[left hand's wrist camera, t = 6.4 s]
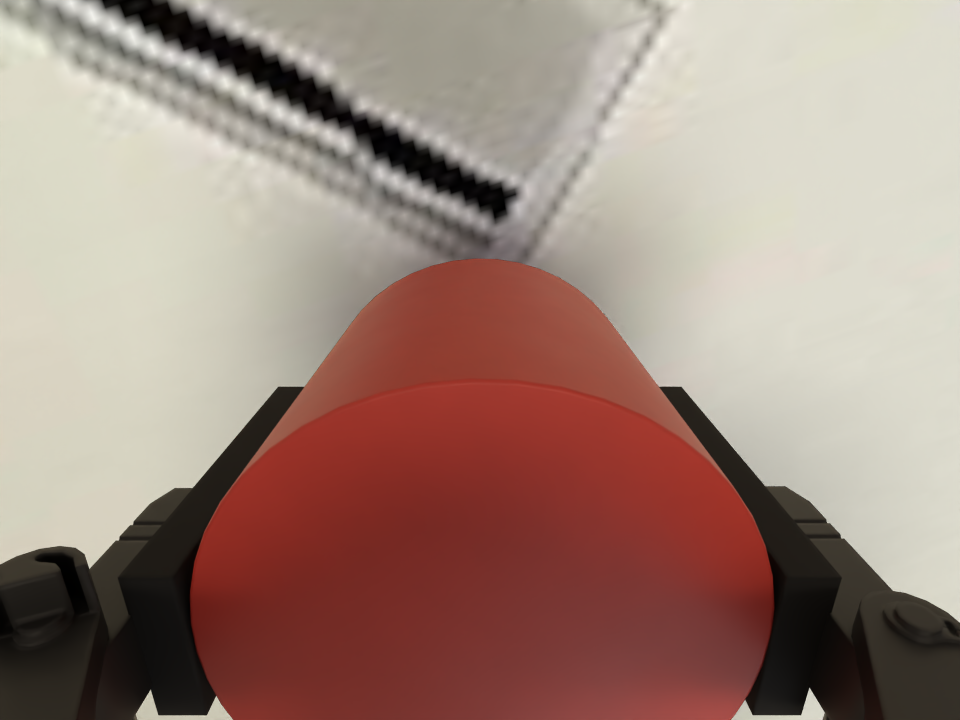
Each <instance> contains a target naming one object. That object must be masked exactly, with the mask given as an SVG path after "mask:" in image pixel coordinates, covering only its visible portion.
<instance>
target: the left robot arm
mask: <svg viewBox="0 0 960 720" xmlns="http://www.w3.org/2000/svg"><path fill="white" fill-rule="evenodd" d="M303 388H304V387H278V388H277V389H276V390H275V391H274V393H273V394H272V395H271V396H270V397H269V398H268V400H267V401H266V402H265V403H264V404H263V406H262V407H261V408H260V409H259V410H258V412H257V413H256V414H255V415H254V416H253V417H252V419H251V420H250V421H249V422H248V423H247V425H246V426H245V427H244V428H243V429H242V430H241V432H240V433H239V434H238V435H237V436H236V438H235V439H234V440H233V441H232V442H231V444H230V445H229V446H228V447H227V448H226V449H225V451H224V452H223V453H222V454H221V455H220V457H219V458H218V459H217V460H216V461H215V463H214V464H213V465H212V466H211V467H210V468H209V470H208V471H207V472H206V473H205V474H204V476H203V477H202V478H201V479H200V480H199V481H198V483H197V484H196V485H195V486H194V487H193V488H174V489H173V490H171V491H170V492H168V493H166V494H165V495H163V496H162V497H160V498H158V499H157V500H155V501H154V502H152V503H151V504H149V506H148V507H147V508H146V509H145V510H144V511H143V512H142V513H141V514H140V515H139V516H138V517H137V519H136V520H135V521H134V524H133V525H130V526H129V527H128V528H127V529H126V530H125V531H124V533H123V534H122V535H121V536H120V539H119V541H115V542H114V543H113V544H112V545H111V547H110V548H109V549H108V550H107V551H106V552H105V553H104V554H103V555H102V556H101V557H100V558H99V560H98V561H97V562H96V563H95V564H94V565H93V566H92V567H91V568H90V569H89V567H88V564H87V561H86V557H85V554H83V553H82V552H81V551H79V550H78V549H76V548H72V547H63V546H57V547H50V548H43V549H38V550H35V551H32V552H29V553H26V554H23V555H19V556H17V557H15V558H13V559H11V560H9V561H7V562H5V563H3V564H1V565H0V720H137V717H136V713H137V711H138V709H139V708H140V706H141V704H142V703H143V701H144V699H145V698H146V696H147V694H148V693H149V691H150V689H151V692H152V695H153V698H154V702H155V705H156V708H157V712H158V715H207V714H208V712H209V710H210V708H211V705H212V703H213V701H214V699H215V697H216V694H215V692H214V691H213V689H212V687H211V685H210V683H209V682H208V680H207V678H206V675H205V673H204V670H203V667H202V665H201V662H200V659H199V657H198V654H197V651H196V646H195V641H194V637H193V632H192V627H191V613H190V589H191V582H192V575H193V568H194V561H195V558H196V555H197V552H198V549H199V546H200V543H201V540H202V537H203V534H204V531H205V529H206V527H207V526H208V524H209V522H210V520H211V518H212V516H213V514H214V512H215V511H216V509H217V507H218V505H219V503H220V501H221V500H222V499H223V497H224V496H225V495H226V493H227V492H228V491H229V489H230V488H231V486H232V485H233V484H234V482H235V481H236V480H237V478H238V477H239V476H240V474H241V473H242V472H243V470H244V469H245V467H246V466H247V465H248V463H249V462H250V461H251V459H252V458H253V457H254V455H255V454H256V452H257V451H258V450H259V448H260V447H261V446H262V444H263V443H264V442H265V440H266V439H267V437H268V436H269V435H270V433H271V432H272V431H273V429H274V428H275V427H276V425H277V424H278V422H279V421H280V420H281V418H282V417H283V416H284V414H285V413H286V412H287V410H288V409H289V408H290V406H291V405H292V403H293V402H294V401H295V399H296V398H297V397H298V395H299V394H300V393H301V391H302V390H303ZM659 388H660V389H661V390H662V392H663V393H664V394H665V396H666V397H667V398H668V400H669V401H670V402H671V404H672V405H673V406H674V408H675V409H676V410H677V412H678V413H679V414H680V416H681V417H682V418H683V420H684V421H685V422H686V424H687V425H688V426H689V428H690V429H691V430H692V432H693V433H694V434H695V436H696V437H697V438H698V440H699V441H700V442H701V444H702V445H703V446H704V448H705V449H706V450H707V452H708V453H709V454H710V456H711V457H712V458H713V460H714V461H715V462H716V464H717V465H718V466H719V468H720V469H721V470H722V472H723V473H724V474H725V476H726V477H727V478H728V480H729V481H730V482H731V484H732V485H733V486H734V488H735V489H736V491H737V493H738V494H739V496H740V497H741V499H742V500H743V502H744V503H745V505H746V506H747V508H748V509H749V511H750V513H751V514H752V516H753V518H754V520H755V522H756V525H757V527H758V529H759V532H760V534H761V536H762V539H763V541H764V543H765V546H766V550H767V554H768V558H769V563H770V567H771V571H772V575H773V590H774V617H773V625H772V630H771V635H770V639H769V643H768V647H767V651H766V655H765V658H764V662H763V666H762V668H761V670H760V672H759V674H758V677H757V679H756V681H755V683H754V685H753V687H752V689H751V691H750V693H749V694H748V696H747V697H746V699H745V700H746V702H747V704H748V706H749V708H750V710H751V712H752V715H801V714H802V710H803V707H804V704H805V700H806V697H807V694H808V690H809V687H810V689H811V691H812V692H813V694H814V695H815V697H816V699H817V700H818V702H819V704H820V705H821V707H822V709H823V710H824V712H825V714H824V717H823V720H960V623H959V622H958V621H957V620H956V619H954V618H953V617H952V616H951V615H950V614H948V613H947V612H945V611H944V610H942V609H940V608H938V607H937V606H935V605H933V604H931V603H930V602H928V601H926V600H923V599H920V598H917V597H915V596H912V595H909V594H906V593H902V592H896V591H892V589H891V588H890V587H889V586H888V585H887V584H886V583H885V582H884V581H883V580H882V579H881V578H880V577H879V576H878V574H877V573H876V572H875V571H874V570H873V569H872V568H871V567H870V566H869V565H868V564H867V563H866V562H865V561H864V559H863V558H862V557H861V556H860V555H859V554H858V553H857V552H856V551H855V550H854V549H853V548H852V547H851V545H850V544H849V543H848V542H847V541H846V540H845V539H841V537H840V534H839V533H838V532H837V530H836V529H835V528H834V527H833V526H832V525H831V524H830V523H827V521H826V519H825V518H824V517H823V515H822V514H821V513H820V512H819V511H818V510H817V509H816V508H815V507H814V506H813V505H812V504H811V503H810V502H809V501H808V500H806V499H804V498H803V497H801V496H800V495H798V494H796V493H795V492H793V491H792V490H790V489H788V488H787V487H785V486H764V484H763V483H762V482H761V481H760V480H759V478H758V477H757V476H756V475H755V474H754V472H753V471H752V470H751V469H750V468H749V467H748V465H747V464H746V463H745V462H744V461H743V459H742V458H741V457H740V456H739V455H738V453H737V452H736V451H735V450H734V449H733V448H732V446H731V445H730V444H729V443H728V442H727V440H726V439H725V438H724V437H723V436H722V435H721V433H720V432H719V431H718V430H717V429H716V427H715V426H714V425H713V424H712V423H711V421H710V420H709V419H708V418H707V417H706V416H705V414H704V413H703V412H702V411H701V410H700V408H699V407H698V406H697V405H696V404H695V402H694V401H693V400H692V399H691V398H690V397H689V395H688V394H687V393H686V392H685V391H684V389H683V388H682V387H659Z"/></svg>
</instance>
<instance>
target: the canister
mask: <svg viewBox="0 0 960 720" xmlns="http://www.w3.org/2000/svg"><path fill="white" fill-rule="evenodd" d="M190 613H191V627H192V632H193V637H194V641H195V646H196V651H197V654H198V657H199V659H200V662H201V665H202V667H203V670H204V673H205V675H206V678H207V680H208V682H209V683H210V685H211V687H212V689H213V691H214V692H215V694H216V696H217V698H218V699H219V701H220V703H221V705H222V706H223V707H224V708H225V710H226V711H227V712H228V714H229V715H230V716H231V717H232V719H233V720H731V719H732V718H733V717H734V715H735V714H736V712H737V711H738V709H739V708H740V706H741V705H742V703H743V702H744V700H745V699H746V697H747V696H748V694H749V693H750V691H751V689H752V687H753V685H754V683H755V681H756V679H757V677H758V674H759V672H760V670H761V668H762V666H763V662H764V658H765V655H766V651H767V647H768V643H769V639H770V635H771V630H772V625H773V617H774V590H773V575H772V571H771V567H770V563H769V558H768V554H767V550H766V546H765V543H764V541H763V539H762V536H761V534H760V532H759V529H758V527H757V525H756V522H755V520H754V518H753V516H752V514H751V513H750V511H749V509H748V508H747V506H746V505H745V503H744V502H743V500H742V499H741V497H740V496H739V494H738V493H737V491H736V489H735V488H734V486H733V485H732V484H731V482H730V481H729V480H728V478H727V477H726V476H725V474H724V473H723V472H722V470H721V469H720V468H719V466H718V465H717V464H716V462H715V461H714V460H713V458H712V457H711V456H710V454H709V453H708V452H707V450H706V449H705V448H704V446H703V445H702V444H701V442H700V441H699V440H698V438H697V437H696V436H695V434H694V433H693V432H692V430H691V429H690V428H689V426H688V425H687V424H686V422H685V421H684V420H683V418H682V417H681V416H680V414H679V413H678V412H677V410H676V409H675V408H674V406H673V405H672V404H671V402H670V401H669V400H668V398H667V397H666V396H665V394H664V393H663V392H662V390H661V389H660V388H659V386H658V385H657V384H656V382H655V381H654V380H653V378H652V377H651V376H650V374H649V373H648V372H647V370H646V369H645V368H644V366H643V365H642V364H641V362H640V361H639V360H638V358H637V357H636V356H635V354H634V353H633V352H632V350H631V349H630V348H629V346H628V345H627V344H626V342H625V341H624V340H623V338H622V337H621V336H620V334H619V333H618V332H617V330H616V329H615V328H614V326H613V325H612V324H611V322H610V321H609V320H608V318H607V317H606V316H605V315H604V314H603V313H602V312H601V311H600V309H599V308H598V307H597V306H596V305H595V304H594V303H593V302H592V301H591V300H590V299H589V298H587V297H586V296H585V295H584V294H583V293H581V292H580V291H579V290H578V289H576V288H575V287H573V286H572V285H570V284H568V283H567V282H565V281H564V280H562V279H560V278H558V277H556V276H554V275H552V274H550V273H548V272H545V271H543V270H541V269H538V268H535V267H531V266H528V265H525V264H521V263H517V262H511V261H505V260H499V259H466V260H456V261H450V262H446V263H442V264H438V265H433V266H430V267H427V268H425V269H422V270H420V271H417V272H414V273H412V274H410V275H408V276H406V277H404V278H402V279H401V280H399V281H397V282H395V283H393V284H392V285H390V286H389V287H388V288H386V289H385V290H384V291H382V292H381V293H380V294H378V295H377V296H376V297H375V298H374V299H373V300H372V301H370V302H369V303H368V304H367V305H366V306H365V307H364V308H363V309H362V310H361V312H360V313H359V314H358V315H357V317H356V318H355V319H354V321H353V322H352V323H351V325H350V326H349V327H348V329H347V330H346V331H345V333H344V334H343V335H342V337H341V338H340V339H339V341H338V342H337V344H336V345H335V346H334V348H333V349H332V350H331V352H330V353H329V354H328V356H327V357H326V359H325V360H324V361H323V363H322V364H321V365H320V367H319V368H318V369H317V371H316V372H315V373H314V375H313V376H312V378H311V379H310V380H309V382H308V383H307V384H306V386H305V387H304V388H303V390H302V391H301V393H300V394H299V395H298V397H297V398H296V399H295V401H294V402H293V403H292V405H291V406H290V408H289V409H288V410H287V412H286V413H285V414H284V416H283V417H282V418H281V420H280V421H279V422H278V424H277V425H276V427H275V428H274V429H273V431H272V432H271V433H270V435H269V436H268V437H267V439H266V440H265V442H264V443H263V444H262V446H261V447H260V448H259V450H258V451H257V452H256V454H255V455H254V457H253V458H252V459H251V461H250V462H249V463H248V465H247V466H246V467H245V469H244V470H243V472H242V473H241V474H240V476H239V477H238V478H237V480H236V481H235V482H234V484H233V485H232V486H231V488H230V489H229V491H228V492H227V493H226V495H225V496H224V497H223V499H222V500H221V501H220V503H219V505H218V507H217V509H216V511H215V512H214V514H213V516H212V518H211V520H210V522H209V524H208V526H207V527H206V529H205V531H204V534H203V537H202V540H201V543H200V546H199V549H198V552H197V555H196V558H195V561H194V568H193V575H192V582H191V589H190Z"/></svg>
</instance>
